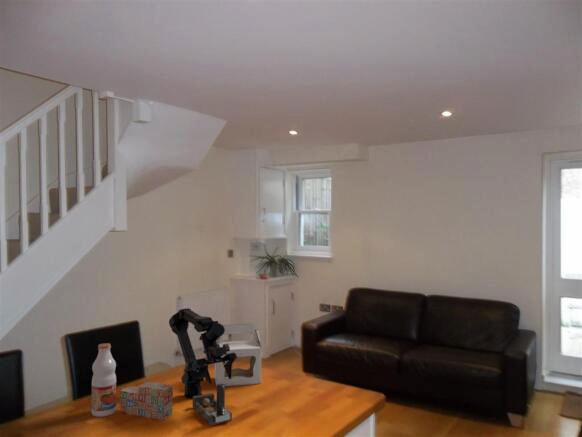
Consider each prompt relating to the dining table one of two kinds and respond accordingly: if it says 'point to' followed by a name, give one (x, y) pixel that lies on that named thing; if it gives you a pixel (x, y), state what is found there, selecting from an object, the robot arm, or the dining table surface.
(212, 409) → the press base
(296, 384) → the dining table surface
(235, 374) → the gable box
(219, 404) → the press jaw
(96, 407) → the fruit juice
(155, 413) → the stack of blocks
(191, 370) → the robot arm
